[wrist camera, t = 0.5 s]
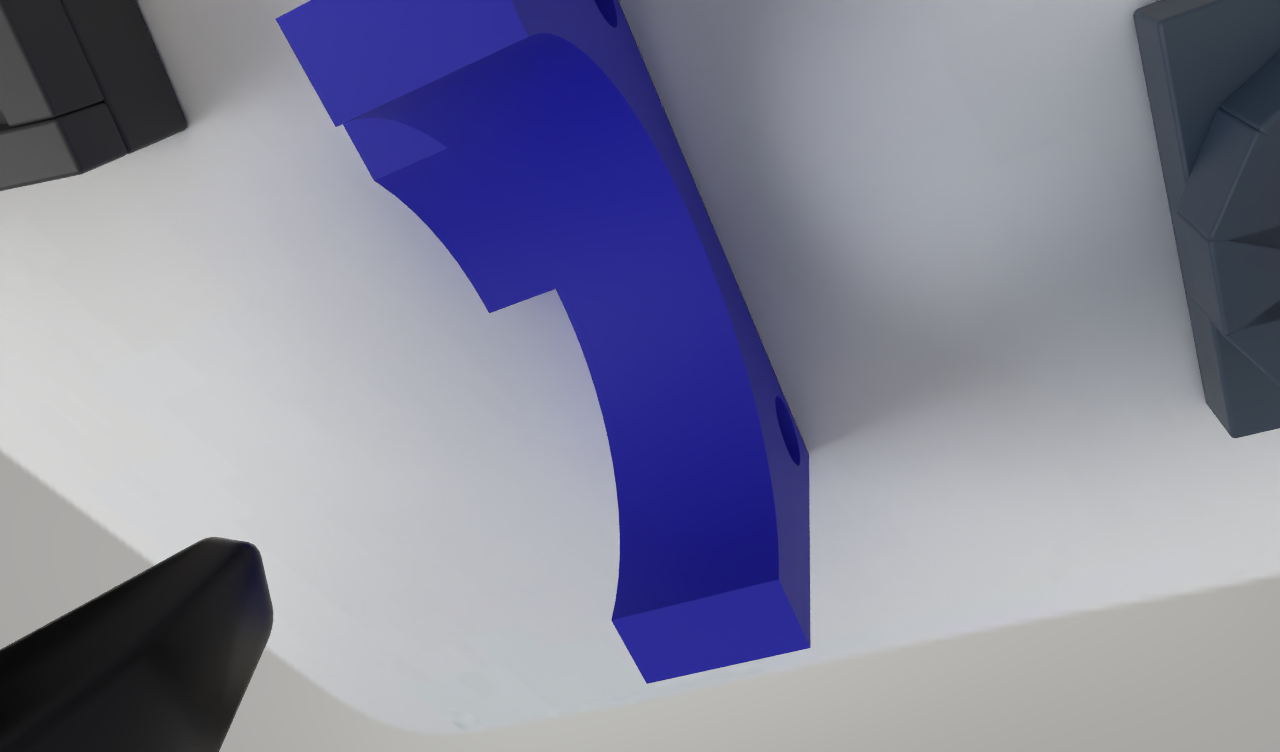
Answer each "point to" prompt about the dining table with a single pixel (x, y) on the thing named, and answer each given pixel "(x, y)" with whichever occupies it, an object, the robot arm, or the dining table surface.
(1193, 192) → the switch block
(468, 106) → the cable clip
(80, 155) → the power strip
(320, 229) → the dining table surface
